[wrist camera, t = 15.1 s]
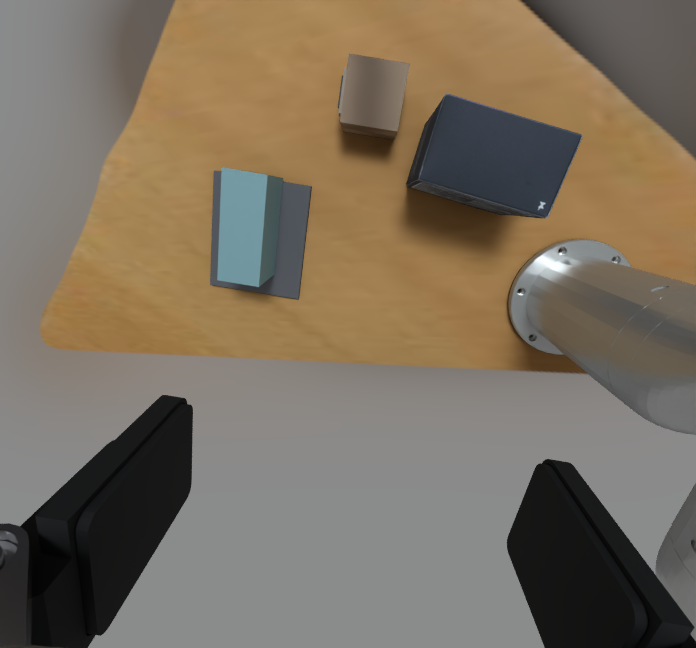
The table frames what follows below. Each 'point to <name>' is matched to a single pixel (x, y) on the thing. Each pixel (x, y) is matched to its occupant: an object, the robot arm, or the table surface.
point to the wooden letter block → (372, 96)
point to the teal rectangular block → (248, 226)
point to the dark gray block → (288, 241)
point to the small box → (492, 159)
